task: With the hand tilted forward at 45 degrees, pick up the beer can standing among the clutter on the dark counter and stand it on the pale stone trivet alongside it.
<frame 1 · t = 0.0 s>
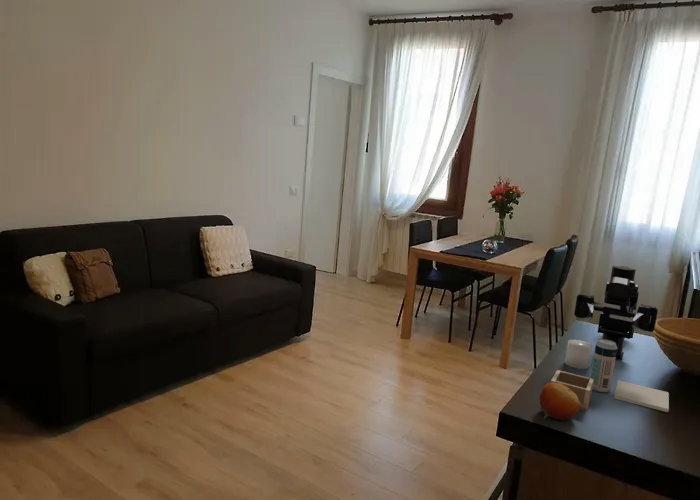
hand: (611, 319, 131), 17 cm above the counter, tool horizontal, fingers open, 9 cm apart
white rounded cylinder: (576, 364, 146), on the counter
trivet: (641, 396, 128), on the counter
fruit: (557, 416, 114), on the counter
oak box: (569, 400, 122), on the counter
beer can: (599, 390, 130), on the counter
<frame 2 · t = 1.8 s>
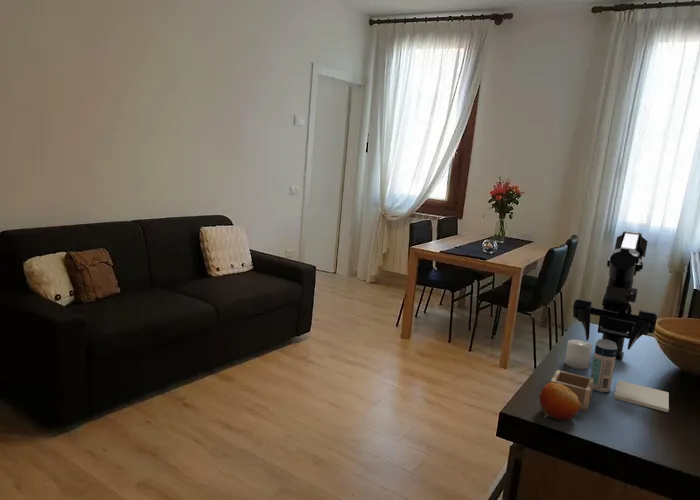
hand: (607, 344, 132), 10 cm above the counter, tool tilted 45°, fingers open, 9 cm apart
nothing on the counter moved.
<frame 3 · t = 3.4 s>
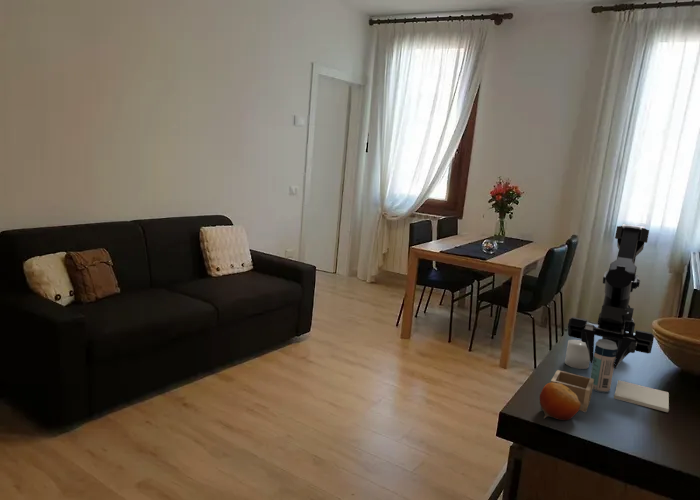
hand: (602, 365, 128), 7 cm above the counter, tool tilted 45°, fingers closed on beer can, 5 cm apart
beer can: (599, 389, 130), on the counter, touching gripper
everything else where it was.
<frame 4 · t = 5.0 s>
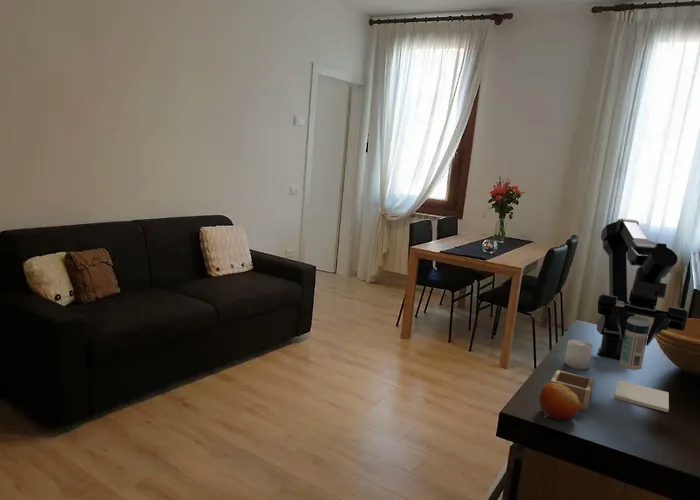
hand: (634, 341, 125), 13 cm above the counter, tool tilted 45°, fingers closed on beer can, 5 cm apart
beer can: (630, 368, 128), point 6 cm above the counter, touching gripper
everything else where it was.
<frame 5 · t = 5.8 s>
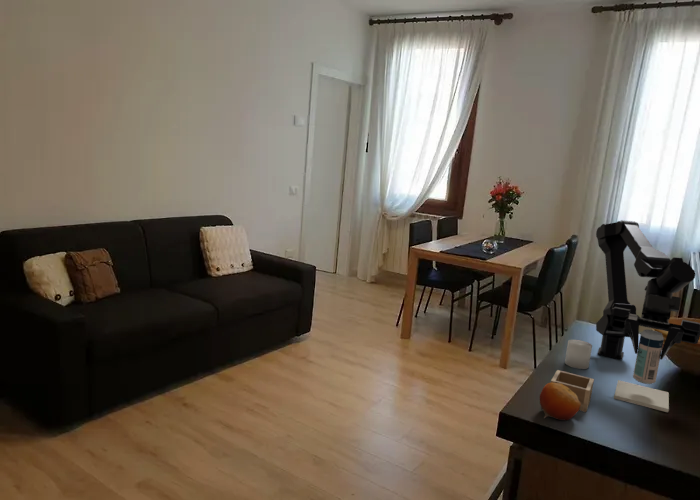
hand: (648, 355, 125), 11 cm above the counter, tool tilted 45°, fingers closed on beer can, 5 cm apart
beer can: (643, 381, 127), point 4 cm above the counter, touching gripper
everything else where it was.
when the fingers open (8 cm above the counter, at t = 6.6 s): beer can stays where it is, resting on trivet.
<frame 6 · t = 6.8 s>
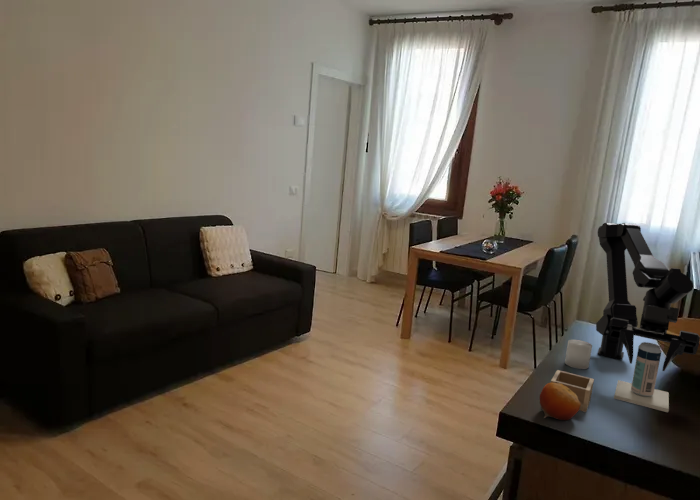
hand: (647, 366, 125), 8 cm above the counter, tool tilted 45°, fingers open, 6 cm apart
beer can: (641, 394, 128), point 1 cm above the counter, touching trivet
everything else where it was.
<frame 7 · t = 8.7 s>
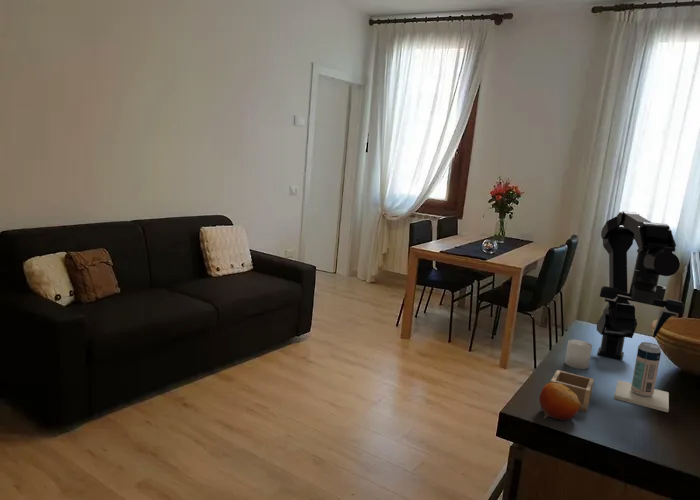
hand: (633, 332, 137), 12 cm above the counter, tool pointing down, fingers open, 9 cm apart
nothing on the counter moved.
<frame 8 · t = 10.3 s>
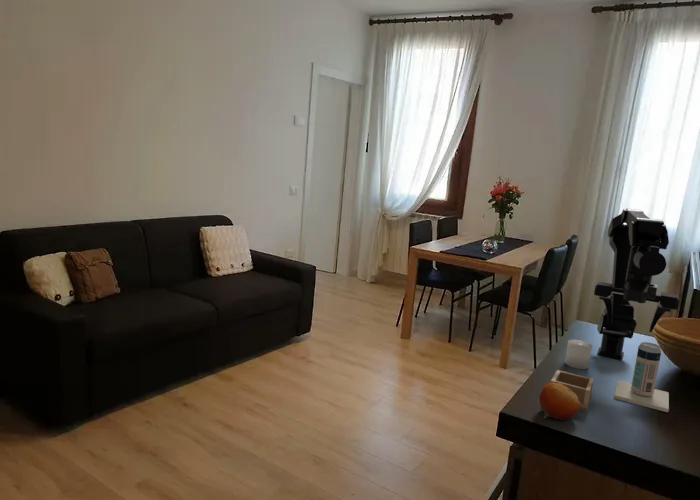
hand: (630, 327, 138), 13 cm above the counter, tool pointing down, fingers open, 9 cm apart
nothing on the counter moved.
at the end: beer can inside the target area (0.2 cm from its centre), point 0.6 cm above the counter; beer can tilted 0°; the gripper is holding nothing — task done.
